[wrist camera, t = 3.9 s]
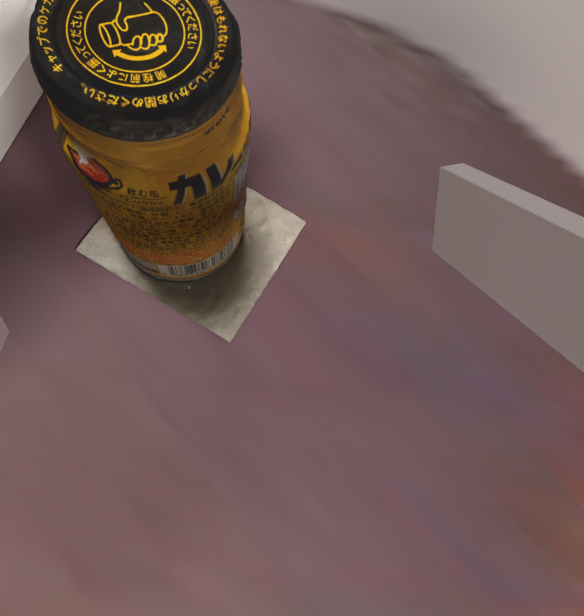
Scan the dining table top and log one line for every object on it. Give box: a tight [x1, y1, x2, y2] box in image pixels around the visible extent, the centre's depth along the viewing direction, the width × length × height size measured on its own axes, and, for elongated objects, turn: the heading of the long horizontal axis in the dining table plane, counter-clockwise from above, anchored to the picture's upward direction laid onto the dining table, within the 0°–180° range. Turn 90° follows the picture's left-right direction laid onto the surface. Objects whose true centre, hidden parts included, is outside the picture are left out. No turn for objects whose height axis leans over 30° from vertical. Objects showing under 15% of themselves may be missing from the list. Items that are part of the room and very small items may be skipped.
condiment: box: [29, 0, 306, 342], centre depth 17 cm, size 7×8×12 cm
